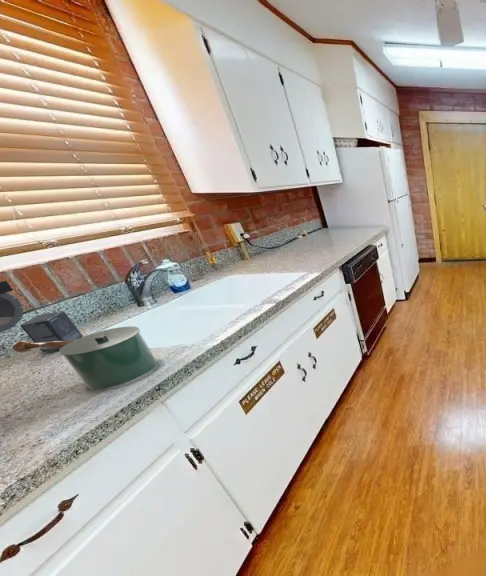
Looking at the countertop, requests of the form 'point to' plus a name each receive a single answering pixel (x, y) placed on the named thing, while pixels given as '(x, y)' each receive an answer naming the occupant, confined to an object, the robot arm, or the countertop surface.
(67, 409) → the countertop surface
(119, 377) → the saucepan
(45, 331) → the box
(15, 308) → the tire
